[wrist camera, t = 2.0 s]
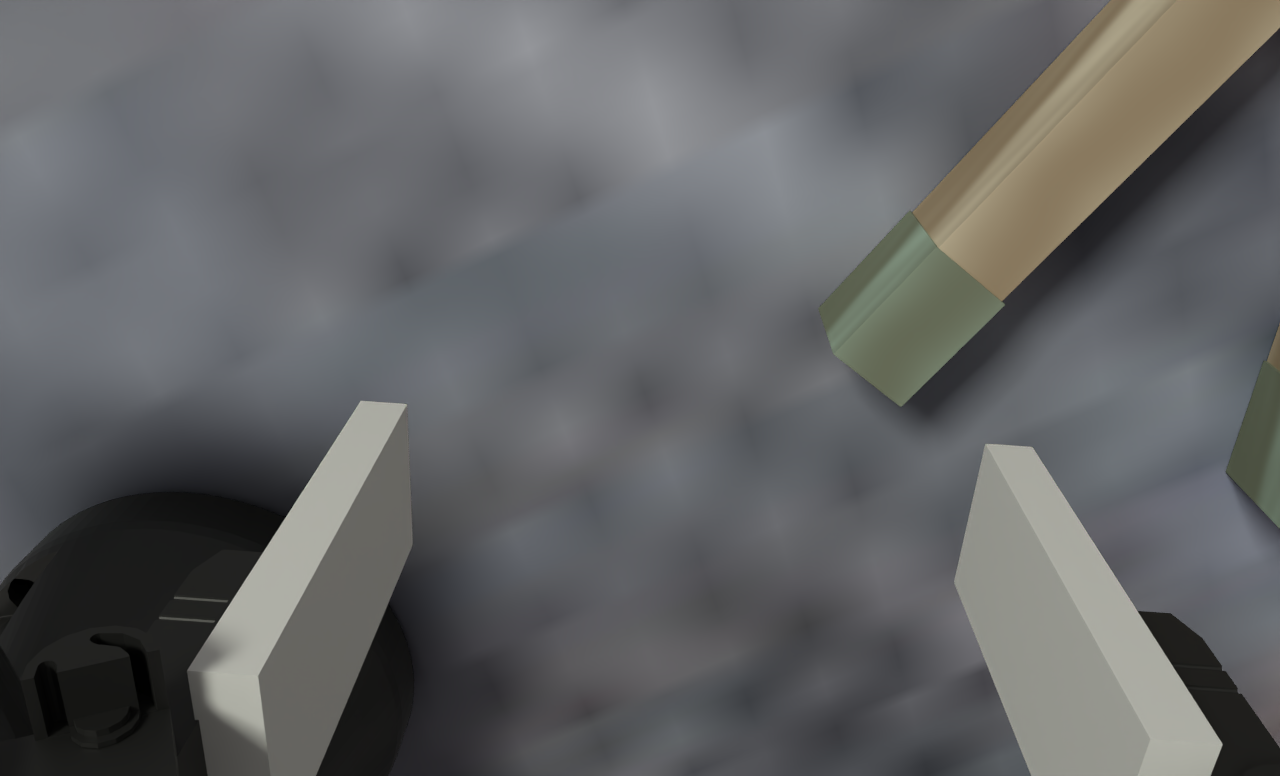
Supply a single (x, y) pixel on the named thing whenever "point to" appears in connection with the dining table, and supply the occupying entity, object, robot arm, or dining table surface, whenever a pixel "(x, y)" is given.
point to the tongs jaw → (1035, 181)
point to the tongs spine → (1261, 440)
